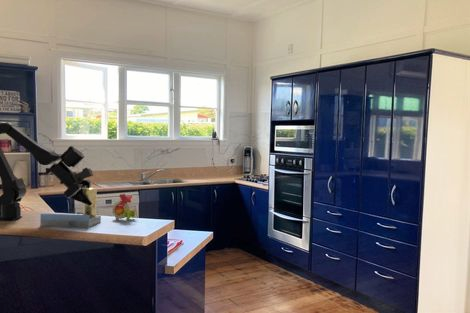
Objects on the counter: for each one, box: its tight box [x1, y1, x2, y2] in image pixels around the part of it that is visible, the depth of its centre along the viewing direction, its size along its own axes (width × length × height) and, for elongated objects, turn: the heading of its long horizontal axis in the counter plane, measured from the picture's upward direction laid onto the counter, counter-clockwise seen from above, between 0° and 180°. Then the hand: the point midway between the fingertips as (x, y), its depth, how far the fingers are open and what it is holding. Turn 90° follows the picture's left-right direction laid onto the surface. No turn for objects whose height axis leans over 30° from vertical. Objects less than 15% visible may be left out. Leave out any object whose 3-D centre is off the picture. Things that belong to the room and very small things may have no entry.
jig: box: [40, 212, 102, 229], centre depth 145 cm, size 18×11×4 cm, turn 87°
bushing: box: [82, 187, 98, 215], centre depth 153 cm, size 5×5×12 cm
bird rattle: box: [112, 193, 137, 222], centre depth 155 cm, size 6×11×9 cm
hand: (93, 203), depth 154 cm, fingers open, 7 cm apart
